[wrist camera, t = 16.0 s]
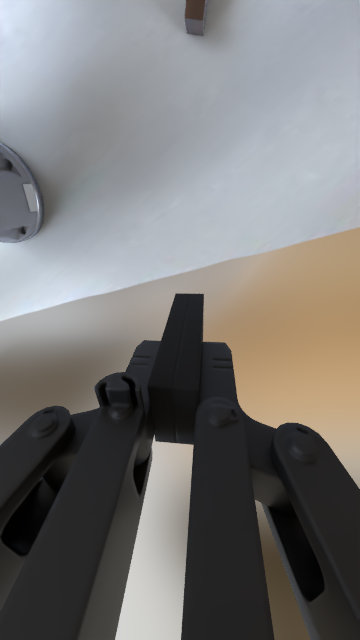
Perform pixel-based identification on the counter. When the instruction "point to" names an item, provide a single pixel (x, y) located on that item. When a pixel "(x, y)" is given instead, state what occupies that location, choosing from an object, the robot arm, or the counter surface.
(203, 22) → the corner guide
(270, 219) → the counter surface
